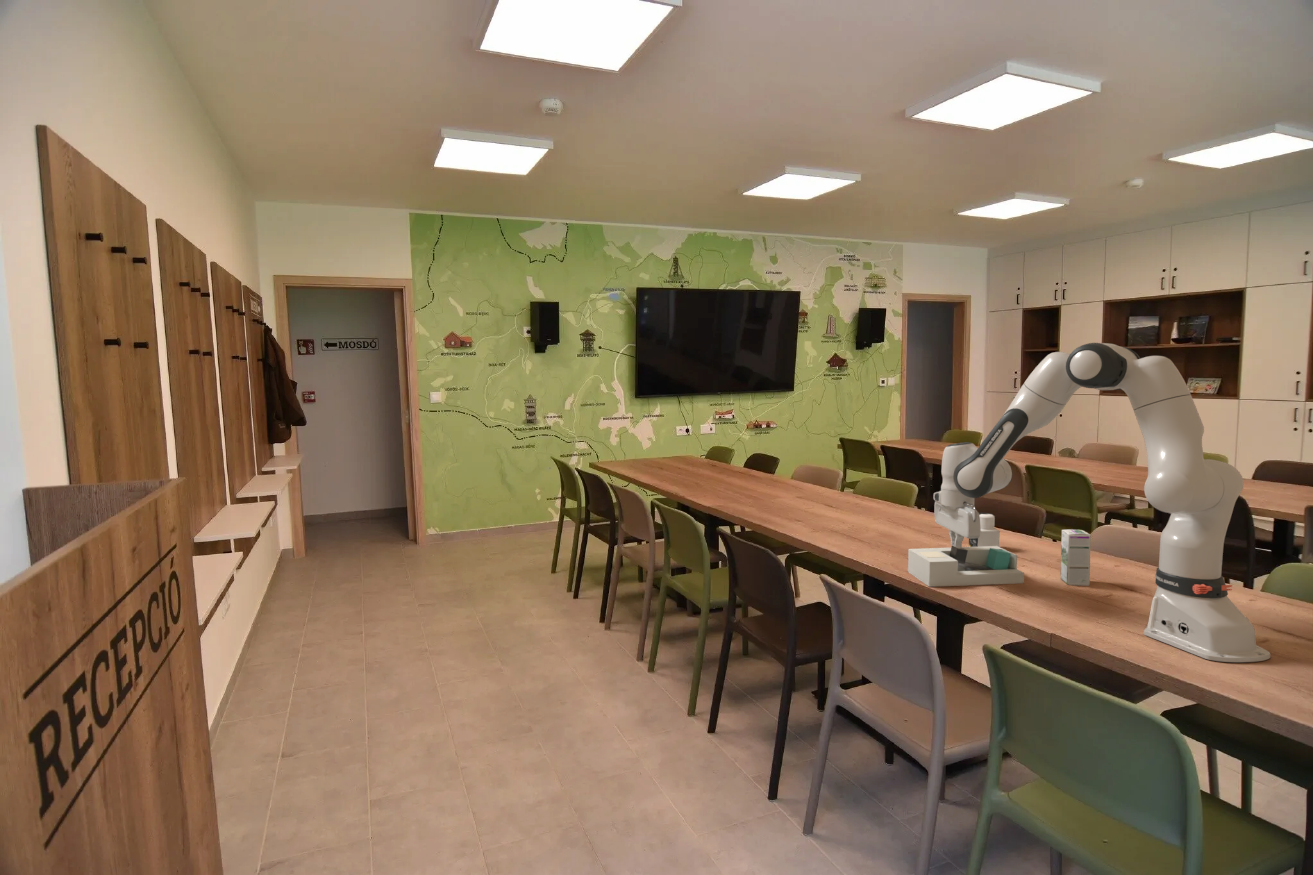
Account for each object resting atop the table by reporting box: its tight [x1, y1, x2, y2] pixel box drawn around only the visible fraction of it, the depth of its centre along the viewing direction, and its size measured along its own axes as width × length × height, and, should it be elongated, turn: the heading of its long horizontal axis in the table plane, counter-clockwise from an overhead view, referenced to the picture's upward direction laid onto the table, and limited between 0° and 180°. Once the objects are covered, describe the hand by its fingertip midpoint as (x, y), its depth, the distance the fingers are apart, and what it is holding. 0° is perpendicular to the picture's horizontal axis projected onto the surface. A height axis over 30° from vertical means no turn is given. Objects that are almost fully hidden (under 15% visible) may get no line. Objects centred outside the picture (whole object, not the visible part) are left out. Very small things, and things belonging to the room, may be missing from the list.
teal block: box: [986, 548, 1011, 570], centre depth 200 cm, size 4×4×5 cm
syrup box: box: [1060, 528, 1092, 587], centre depth 193 cm, size 6×6×14 cm
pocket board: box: [907, 546, 1025, 587], centre depth 200 cm, size 14×27×7 cm, turn 93°
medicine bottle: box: [968, 512, 1001, 547], centre depth 229 cm, size 7×7×12 cm
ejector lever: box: [950, 545, 996, 570], centre depth 200 cm, size 3×16×5 cm, turn 93°
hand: (956, 546), depth 199 cm, fingers closed
